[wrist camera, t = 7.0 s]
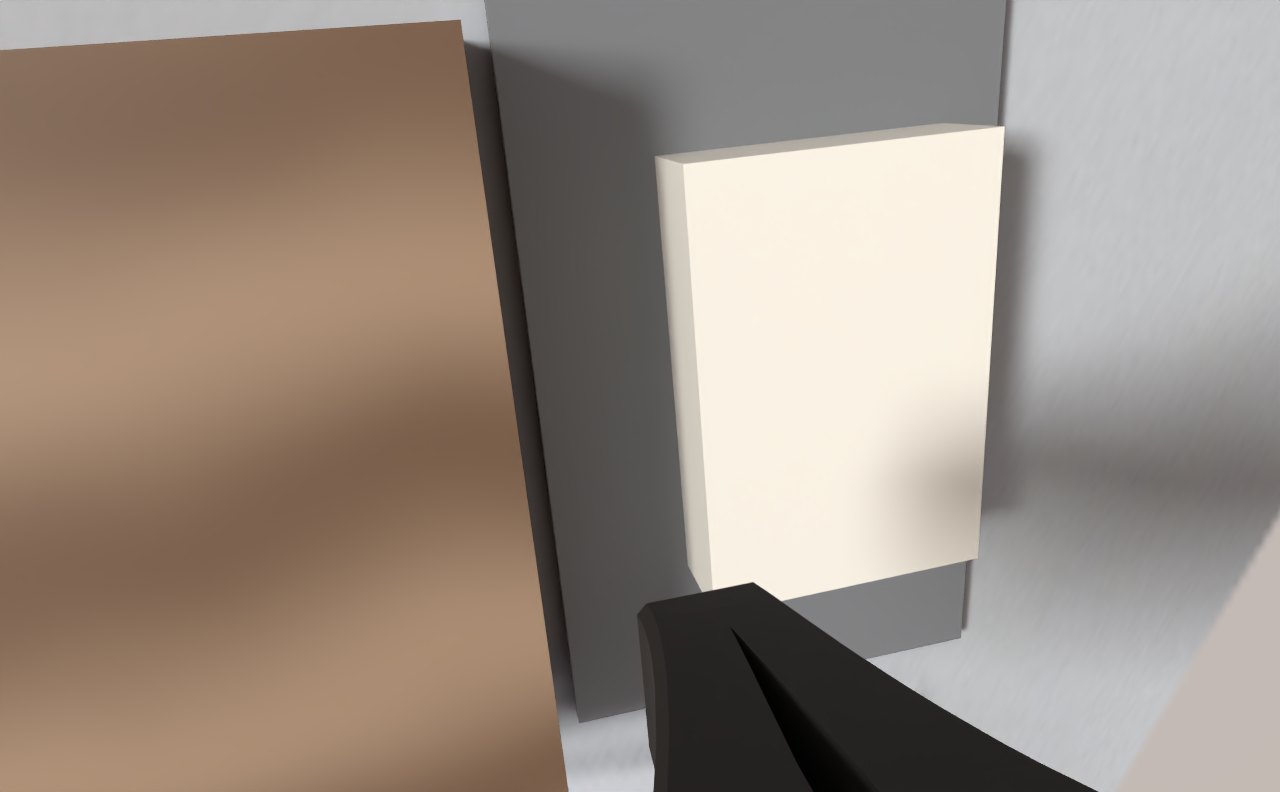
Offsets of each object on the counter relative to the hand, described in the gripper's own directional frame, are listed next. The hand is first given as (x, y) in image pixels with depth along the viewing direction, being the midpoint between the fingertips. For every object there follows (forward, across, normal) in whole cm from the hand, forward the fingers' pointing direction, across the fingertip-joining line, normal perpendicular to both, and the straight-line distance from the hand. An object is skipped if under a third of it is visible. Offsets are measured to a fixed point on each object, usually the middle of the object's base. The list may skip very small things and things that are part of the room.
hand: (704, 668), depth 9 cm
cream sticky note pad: (+7, -5, 0) cm, 8 cm away
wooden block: (+9, +8, 0) cm, 12 cm away
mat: (+9, -4, 0) cm, 10 cm away
